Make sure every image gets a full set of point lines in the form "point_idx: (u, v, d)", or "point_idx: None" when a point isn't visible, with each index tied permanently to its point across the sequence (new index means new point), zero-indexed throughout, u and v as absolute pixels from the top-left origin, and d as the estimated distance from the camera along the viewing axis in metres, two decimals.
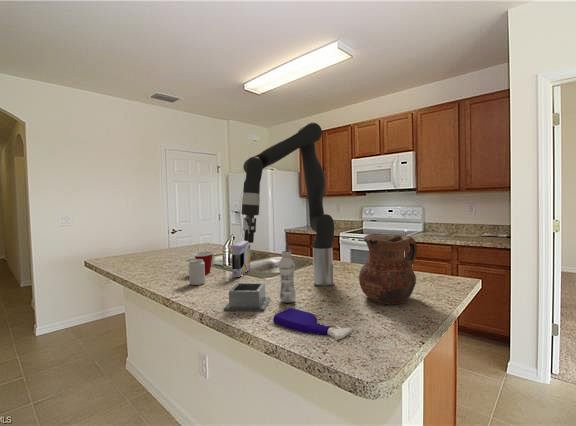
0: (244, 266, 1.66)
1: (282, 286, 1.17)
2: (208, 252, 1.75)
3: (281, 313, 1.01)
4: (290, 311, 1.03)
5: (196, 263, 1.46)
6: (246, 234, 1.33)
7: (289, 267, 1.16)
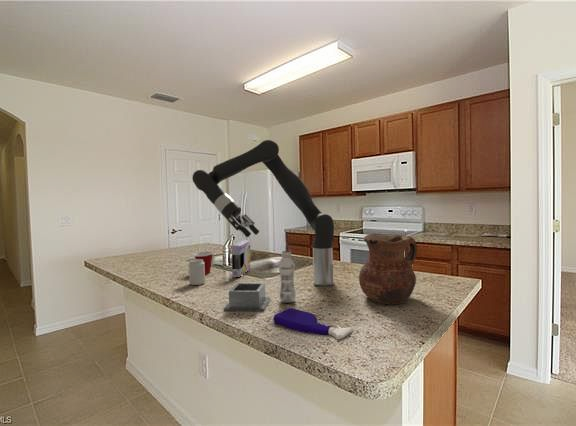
0: (244, 266, 1.66)
1: (282, 286, 1.17)
2: (208, 252, 1.75)
3: (281, 313, 1.00)
4: (290, 311, 1.03)
5: (196, 263, 1.46)
6: (252, 229, 1.28)
7: (289, 267, 1.16)
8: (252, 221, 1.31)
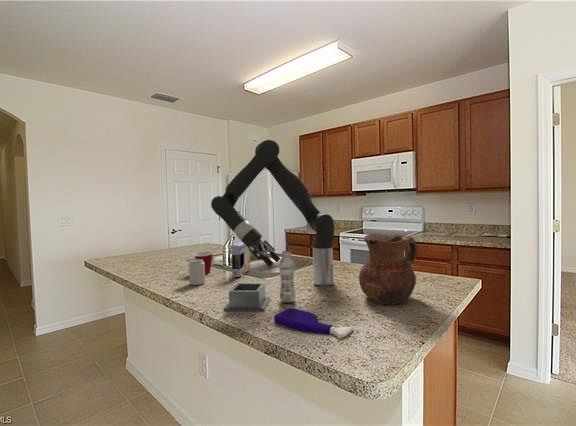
0: (244, 266, 1.66)
1: (282, 286, 1.17)
2: (208, 252, 1.75)
3: (282, 313, 1.01)
4: (290, 311, 1.03)
5: (196, 263, 1.46)
6: (273, 256, 1.24)
7: (289, 267, 1.16)
8: (272, 247, 1.27)
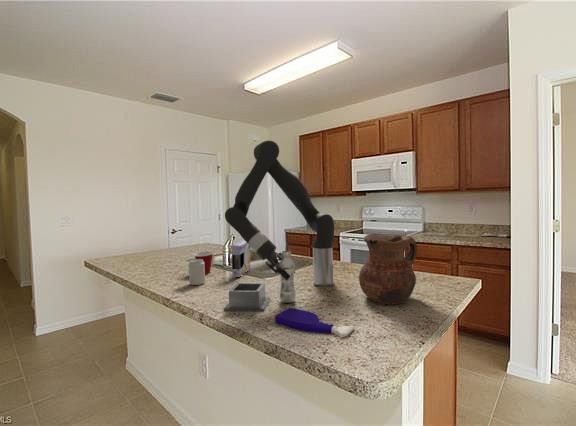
0: (244, 266, 1.66)
1: (282, 286, 1.17)
2: (208, 252, 1.75)
3: (282, 313, 1.00)
4: (290, 310, 1.03)
5: (196, 263, 1.46)
6: None
7: (289, 267, 1.16)
8: None
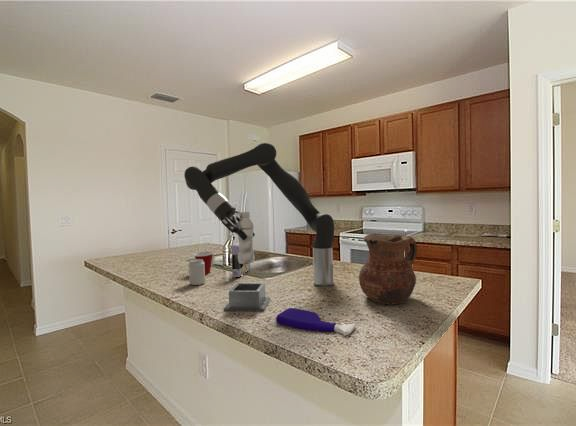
0: (244, 266, 1.66)
1: (240, 247, 1.14)
2: (208, 252, 1.75)
3: (283, 313, 1.00)
4: (291, 310, 1.03)
5: (196, 263, 1.46)
6: None
7: (246, 227, 1.13)
8: None
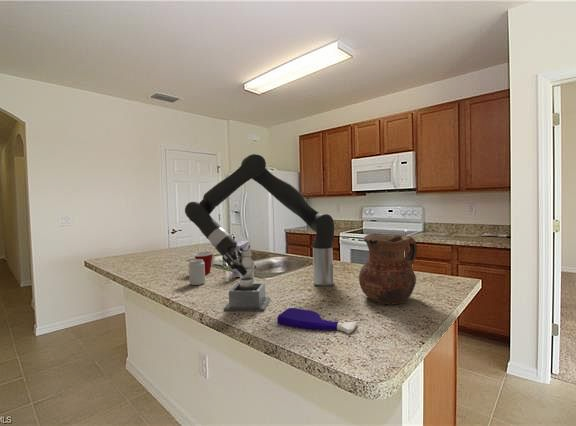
0: None
1: (241, 286, 1.15)
2: (208, 252, 1.75)
3: (284, 313, 1.00)
4: (291, 310, 1.03)
5: (196, 263, 1.46)
6: None
7: (247, 267, 1.13)
8: None
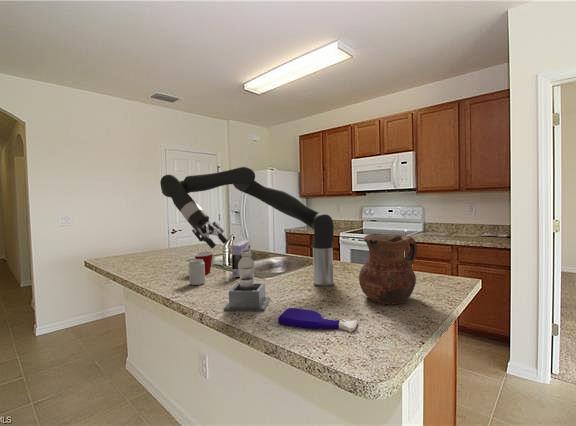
0: None
1: (241, 286, 1.15)
2: (208, 252, 1.75)
3: (285, 313, 1.00)
4: (291, 310, 1.03)
5: (196, 263, 1.46)
6: (220, 237, 1.25)
7: (247, 267, 1.14)
8: (221, 229, 1.27)
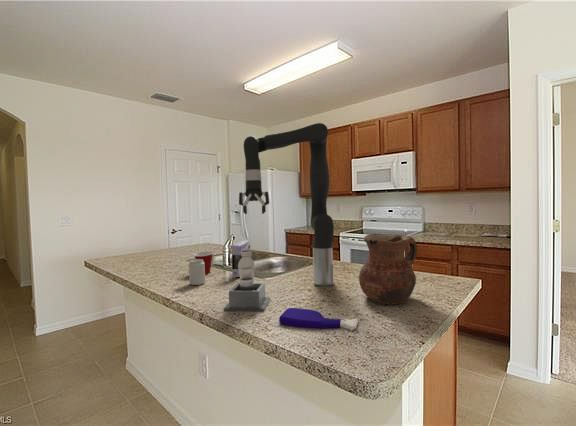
0: None
1: (241, 286, 1.15)
2: (208, 252, 1.75)
3: (285, 313, 1.00)
4: (291, 310, 1.03)
5: (196, 263, 1.46)
6: None
7: (247, 267, 1.14)
8: (266, 201, 1.43)
